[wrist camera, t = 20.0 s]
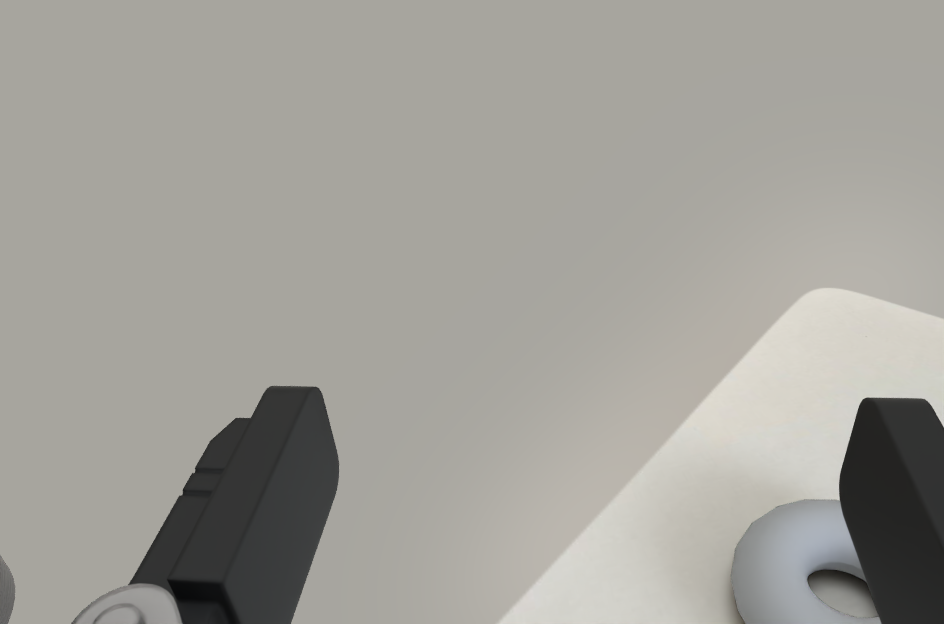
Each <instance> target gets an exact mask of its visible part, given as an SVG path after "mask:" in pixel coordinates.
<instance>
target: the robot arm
mask: <svg viewBox="0 0 944 624" xmlns="http://www.w3.org/2000/svg"><path fill="white" fill-rule="evenodd" d="M338 478H339V461H338V454H337V450H336V446H335V442H334V439H333V434H332V431H331V426H330V422H329V419H328V415H327V411H326V407H325V403H324V399H323V395H322V393H321V391H320V390H319V388H317V387H301V386H299V387H298V386H271V387H269V388H267V390H266V391H265V392H264V394H263V396H262V398H261V400H260V401H259V403H258V405H257V407H256V409H255V411H254V413H253V415H252V417H251V418H235V419H234V420H233V421H232V422H231V423H230V424H229V425H228V426H227V427H225V428H224V429H223V430H222V431H221V432H220V433H219V434H218V435H216V436H215V437H214V438H213V439H212V440H211V441H210V443H209V444H208V446H207V448H206V450H205V452H204V453H203V455H202V457H201V458H200V460H199V462H198V464H197V466H196V468H195V473H192V475H191V476H190V478H189V480H188V481H187V483H186V485H185V487H184V488H183V495H182V496H179V497H178V499H177V501H176V503H175V504H174V506H173V508H172V510H171V512H170V514H169V515H168V517H167V519H166V520H165V522H164V524H163V526H162V527H161V529H160V531H159V533H158V534H157V536H156V538H155V540H154V541H153V543H152V545H151V547H150V549H149V550H148V552H147V554H146V556H145V558H144V559H143V561H142V563H141V564H140V566H139V568H138V570H137V572H136V573H135V575H134V577H133V578H132V580H131V581H130V583H129V584H128V586H123V587H120V588H117V589H115V590H112V591H110V592H108V593H106V594H105V595H103V596H101V597H99V598H98V599H96V600H95V601H94V602H92V603H91V604H90V605H88V606H87V607H86V608H85V609H84V610H83V611H82V612H81V613H80V614H79V615H78V616H77V617H76V618H75V620H74V621H73V622H72V623H71V624H291V621H292V619H293V616H294V613H295V610H296V607H297V604H298V601H299V598H300V595H301V593H302V590H303V587H304V584H305V581H306V578H307V575H308V572H309V570H310V567H311V564H312V561H313V558H314V555H315V552H316V549H317V546H318V544H319V541H320V538H321V535H322V532H323V529H324V526H325V524H326V521H327V518H328V515H329V512H330V509H331V506H332V503H333V500H334V498H335V494H336V491H337V485H338ZM839 495H840V504H841V509H842V513H843V517H844V520H845V522H846V525H847V528H848V531H849V534H850V537H851V539H852V542H853V545H854V548H855V551H856V553H857V556H858V559H859V562H860V565H861V568H862V570H863V573H864V576H865V579H866V582H867V584H868V587H869V590H870V593H871V596H872V599H873V601H874V604H875V607H876V610H877V613H878V615H879V618H880V621H881V624H944V427H943V426H942V424H941V422H940V420H939V418H938V417H937V415H936V413H935V411H934V409H933V408H932V406H931V405H930V404H929V402H928V401H926V400H925V399H915V398H865V399H863V400H862V402H861V403H860V405H859V408H858V412H857V415H856V419H855V422H854V426H853V429H852V433H851V437H850V440H849V444H848V447H847V451H846V455H845V458H844V462H843V465H842V469H841V473H840V481H839Z"/></svg>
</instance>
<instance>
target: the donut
mask: <svg viewBox="0 0 944 624" xmlns="http://www.w3.org/2000/svg"><path fill="white" fill-rule="evenodd" d="M822 569H831V570H839V571H843V572H847V573H850V574H852V575H854V576H856V577H858V578H860V579H862V580H864V581H865V582H866V579H865V576H864V573H863V570H862V568H861V565H860V562H859V559H858V556H857V553H856V551H855V548H854V545H853V542H852V539H851V537H850V534H849V531H848V528H847V525H846V522H845V520H844V517H843V513H842V509H841V504H840V501H839V500H809V499H804V500H800V501H796V502H793V503H789V504H785V505H781V506H777V507H776V508H774V509H773V510H771V511H770V512H768V513H767V514H765V515H763V516H762V517H760V518H759V519H757V520H756V521H754V522H753V523H751V525H750V526H749V528H748V529H747V531H746V532H745V534H744V535H743V537H742V538H741V540H740V541H739V543H738V544H737V547H736V549H735V553H734V560H733V566H732V572H731V582H732V586H733V591H734V595H735V599H736V604H737V608H738V612H739V613H740V615H741V617H742V618H743V620H744V622H745V623H746V624H881V621H880V618H879V616H878V617H875V618H857V617H854V616H850V615H847V614H843V613H840V612H839V611H837V610H835V609H833V608H831V607H829V606H827V605H826V604H825V603H824V602H822V601H821V600H820V599H819V598H818V597H816V596H815V595H814V593H813V592H812V590H811V589H810V588H809V585H808V582H807V577H808V575H810V574H811V573H812V572H814V571H818V570H822Z"/></svg>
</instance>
